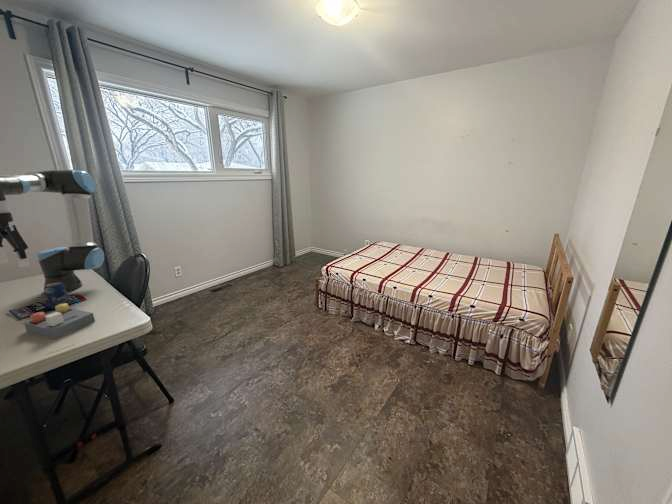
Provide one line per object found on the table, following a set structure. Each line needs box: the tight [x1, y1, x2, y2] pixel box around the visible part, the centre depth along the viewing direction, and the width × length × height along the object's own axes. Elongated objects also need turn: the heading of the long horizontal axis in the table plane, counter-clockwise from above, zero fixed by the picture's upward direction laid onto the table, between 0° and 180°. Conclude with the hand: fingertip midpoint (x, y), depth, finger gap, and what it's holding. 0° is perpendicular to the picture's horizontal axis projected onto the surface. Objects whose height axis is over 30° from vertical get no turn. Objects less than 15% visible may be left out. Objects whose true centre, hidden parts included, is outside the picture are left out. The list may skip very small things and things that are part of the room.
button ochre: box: [54, 303, 70, 313], centre depth 118 cm, size 4×4×3 cm
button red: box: [29, 311, 46, 323], centre depth 110 cm, size 4×4×3 cm
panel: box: [23, 307, 96, 340], centre depth 113 cm, size 18×14×4 cm
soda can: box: [43, 282, 71, 310], centre depth 129 cm, size 7×7×12 cm
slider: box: [45, 312, 64, 326], centre depth 108 cm, size 3×4×4 cm
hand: (14, 265), depth 108 cm, fingers open, 13 cm apart
